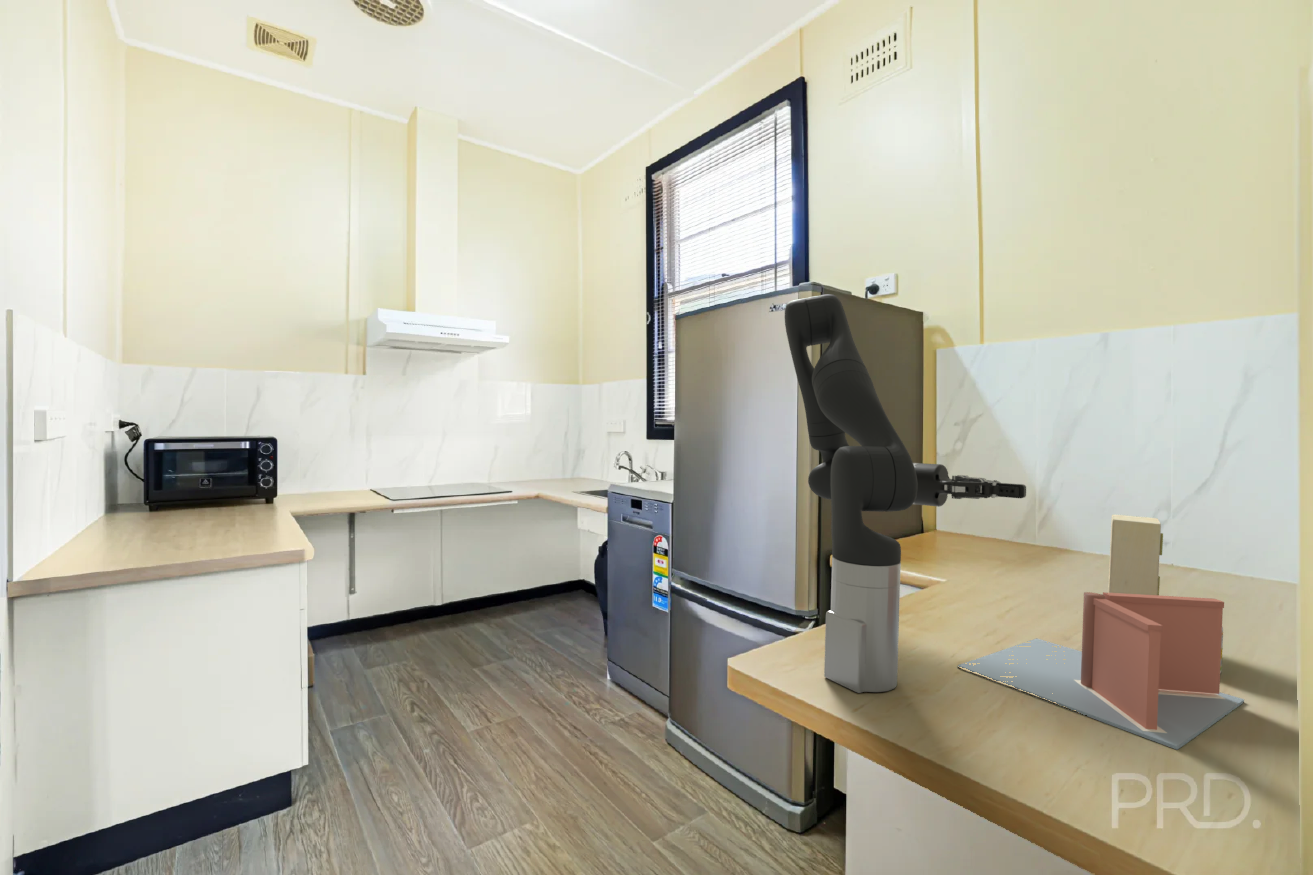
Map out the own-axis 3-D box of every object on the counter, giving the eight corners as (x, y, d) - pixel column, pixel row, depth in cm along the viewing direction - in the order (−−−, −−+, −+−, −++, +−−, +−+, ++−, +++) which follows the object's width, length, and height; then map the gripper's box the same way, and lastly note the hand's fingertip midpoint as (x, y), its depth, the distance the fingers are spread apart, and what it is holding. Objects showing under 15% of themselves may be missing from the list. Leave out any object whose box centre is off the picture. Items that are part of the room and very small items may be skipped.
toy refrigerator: (1161, 648, 99) (1166, 523, 99) (1106, 638, 104) (1110, 518, 103) (1158, 635, 106) (1162, 518, 105) (1106, 626, 110) (1110, 513, 110)
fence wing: (1106, 685, 82) (1109, 595, 82) (1099, 680, 84) (1102, 592, 83) (1220, 694, 80) (1224, 601, 80) (1211, 689, 82) (1214, 598, 81)
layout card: (1177, 749, 67) (1177, 745, 67) (957, 667, 89) (957, 664, 89) (1244, 702, 80) (1244, 698, 80) (1036, 640, 102) (1036, 638, 102)
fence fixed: (1162, 733, 71) (1166, 624, 71) (1140, 731, 71) (1144, 622, 71) (1095, 685, 84) (1098, 592, 84) (1076, 683, 85) (1080, 591, 84)
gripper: (901, 463, 103) (1014, 469, 91) (929, 462, 113) (1035, 467, 101) (900, 506, 103) (1013, 518, 91) (928, 501, 113) (1034, 511, 101)
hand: (1024, 491), depth 96 cm, fingers closed
